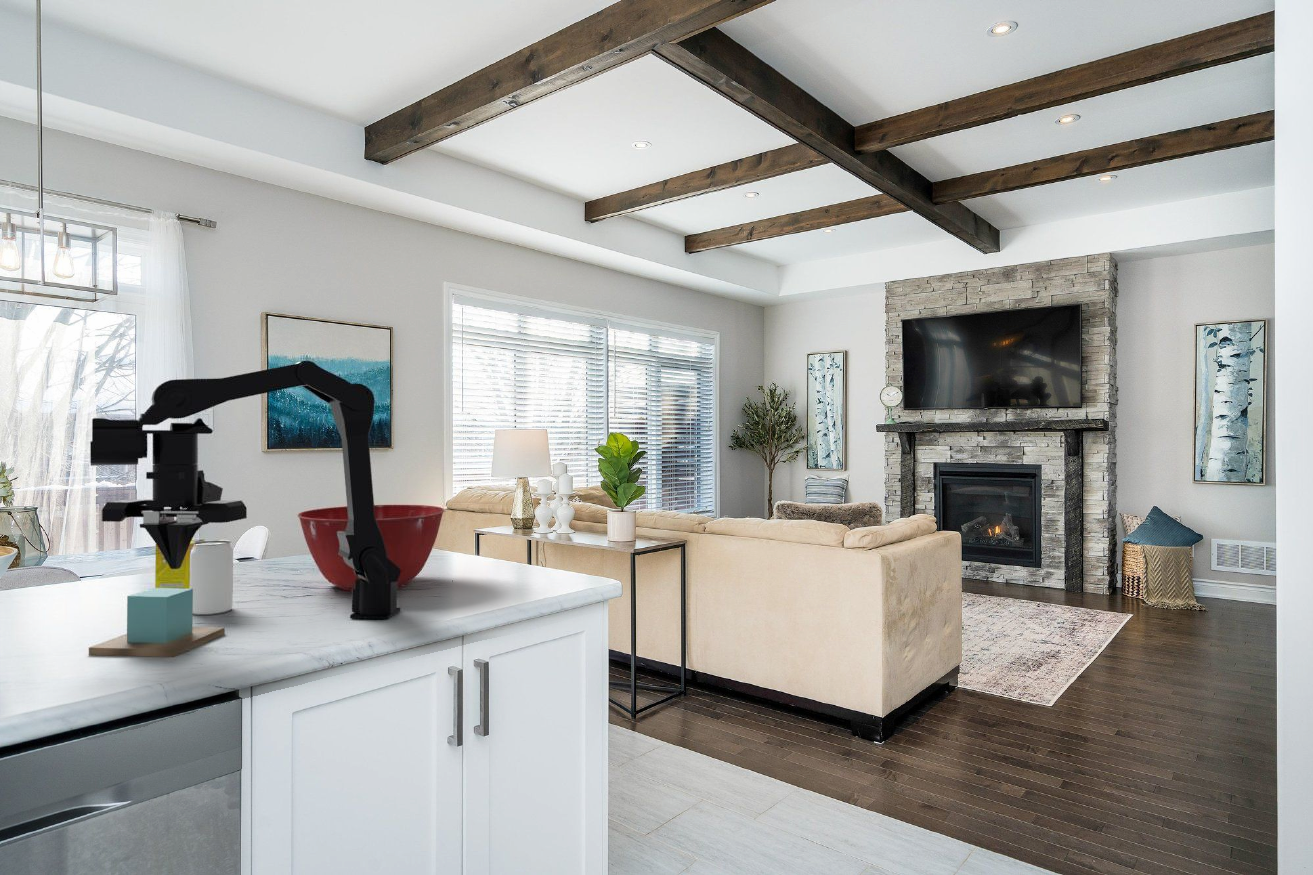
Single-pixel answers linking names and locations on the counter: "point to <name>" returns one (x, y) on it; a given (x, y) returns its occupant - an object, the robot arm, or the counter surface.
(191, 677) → the counter surface
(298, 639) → the counter surface
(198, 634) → the base board
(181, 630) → the teal cube
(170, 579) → the supplement box
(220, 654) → the counter surface
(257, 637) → the counter surface
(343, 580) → the mixing bowl
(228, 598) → the can
